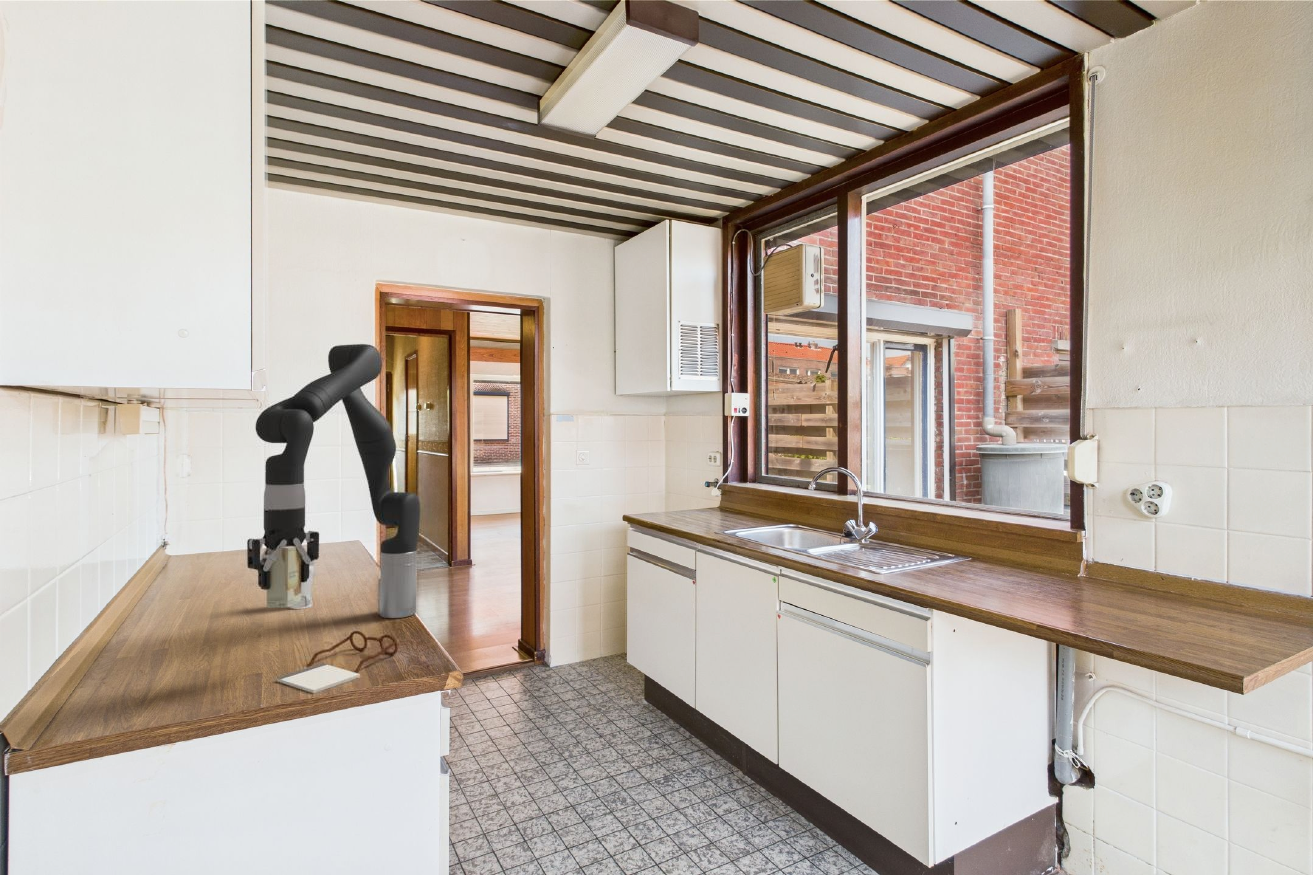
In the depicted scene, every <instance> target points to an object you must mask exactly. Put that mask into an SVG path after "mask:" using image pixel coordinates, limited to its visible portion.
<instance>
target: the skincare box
mask: <svg viewBox="0 0 1313 875" xmlns="http://www.w3.org/2000/svg"><path fill="white" fill-rule="evenodd" d="M274 549H275V548H274ZM273 551H274V550H271V549H270V548H267V555H271V554H272V553H273ZM268 571H270V589H268V590H266V608H289V606H291V605H293V604H295V603H297V602H299V601H301V557H300V556H299V553H298V551H297V549H296V546H285V547H281V548H278V558H277V559H276V561H274V562H273V563H272V565H271V567H270V568H269V570H268Z"/></svg>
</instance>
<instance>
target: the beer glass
mask: <svg viewBox="0 0 1313 875" xmlns="http://www.w3.org/2000/svg"><path fill="white" fill-rule="evenodd" d="M315 561H316V560H313V561H311V562H310V564H309V579H307V582H301V601H299V602H297V603H295V604H293V605H291V606H289V607H288V609H291V610H303V609H308V608H311V607H313V606H314V603H313V598H312V589H313V584H314V579H315V572H316V564H315V563H316V562H315Z"/></svg>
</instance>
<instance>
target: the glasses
mask: <svg viewBox="0 0 1313 875" xmlns="http://www.w3.org/2000/svg"><path fill="white" fill-rule="evenodd" d="M355 634H356V635H360V636H361V637H362V639H363V642H364V644H363V646H362V647H359V646H357V645H356V644H355V642H354V635H355ZM385 638H387V639H390V640H391V641H392V642H391V643H389V644H388V645H387V646H384V642H383V640H384V639H385ZM348 641H349V643H350V645H351V647H352V648H353V649H354V650H357V651H365V650H366V649H367V648H368V641H375V642H376V641H377V642H378V643H379V647H380V649H381V650H379V651H378V652H377V653H375V654H373V655H371V656H367V657H365V658H363V659H362V660H360V662H359V663H358V665H357V666H356V669H355V670H354V671H353V672H354V673H358V674H359V672H360V670H361V668H362V666H363V664H364V663H365V662H368V661H370V660H374V659H377V658H378V657H380V656H381V655H382V654H385V655H389V656H390V655H393V656H394V655H395V654H396V653H397V652H398V650H399V645H398V641H397V640H396V638H395V637H394V636H393V635H390V634H383V635H382V636H381V637H379V638H378V637H375V636H368V637H367V635H366V634H365V633H363V632H362V631H361V630H353V631H352V632H350V635H349V636H347V637H346V638H344V639H342V640H340V641H339V642H337V643H336V644H335V645H333V646H331V647H329V648H327V649H322V650H319V651H317V652H315V653H314V654H313V656H312V657H311V659H310V661H309V663H308V664H307V666H306V667H307V668H310V667H313V664H314V662H315V661H316V659H317V657H318V656H319V655H322V654H324V653H329V652H332V651H333V650H335V649H336V648H338V647H340V646H342V645H343V644H344V643H347V642H348ZM393 646H394V650H393V651H389V650H390V649H391V648H392V647H393Z"/></svg>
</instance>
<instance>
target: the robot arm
mask: <svg viewBox="0 0 1313 875" xmlns="http://www.w3.org/2000/svg"><path fill="white" fill-rule="evenodd" d="M327 360H328V361H327V362H328V368H329V372H330V373H329V374H326V375H324V376H321V377H319V378H317V379H314V380H313V381H311V382H309V383H307V384H306V385H305V386H303V387H302V388H301V389H300V390H299V391H297V392H296V393H295V394H294V395H293V396H290V397H288V398H286V399H284V400H281V401H279V402H276V403H275V404H272V405H270V406H268V407H267V408H266V409H264V410H263V411H262V412H261V413H260V414H259V416H258V417H257V419H256V422H255V426H254V427H255V432H256V435H257V437H259V439H261V440H262V441H263V442H265V443H270V444H286V445H285V448H284V450H283V452H282V453H279V454H276V455H270V456H269V457H267V459H266V460H265V466H264V468H265V474H264V477H265V480H264V481H265V482H264V483H265V484H264V487H265V488H264V491H263V492H264V493H263V531H264V533H263V536H262V537H259V538H248V539H247V542H246V545H247V546H246V547H247V548H246V550H247V551H246V552H247V554H246V557H247V558H246V560H247V562H246V563H247V568H248V569H251V570H255V571H257V584H258V587H260V589H261V590H264V591H265V590H266V591H267V590H268V589H270V571H268V570H269V568H270V567H271V565H272V563H273V562H274V561H276V559H277V558H278V548H281V547H285V546H296V549H297V551H298V553H299V556H300V557H301V582H307V579H309V564H310V562H311V561H313V560H315V561H316V560H318V559H319V557H320V533H319V532H318V531H312V530H309V531H307V532H306V531H305V527H306V490H305V463H306V459H307V455H308V451H309V449H310V445H311V442H312V439H313V436H314V428H315V427H314V425H315V424H314V423H316V422H317V421H318V420H320V419H321V418H322V417H324V415H326V413H327V412H329V411H330V410H331V409H332V408H333V407H334V406H335V405H336V404H338V403H339V402H340V401H341V402H342V404H343V406H344V408H345V413H346V415H347V418H348V420H349V424H350V427H351V430H352V434H353V438H354V442H355V445H356V448H357V452H358V454H359V456H360V459H361V463H362V466H363V470H364V474H365V478H366V481H367V485H368V491H369V497H370V500H371V502H370V503H371V506H372V511H373V514H374V517H375V519H376V521H377V522H378V523H379V524H380V525H381V526H387V527H388V526H389V527H397V530H396V534H395V535H394V536H392V537H390V538H386V539H384V540H382V541H381V543H380V578H379V579H378V585H377V586H378V587H377V588H378V590H377V591H378V592H377V593H378V595H377V596H378V597H377V613H378V615H380V617H382V618H386V619H399V618H400V619H401V618H406V617H411V616H413V615H415V614H416V613H417V595H418V594H417V584H418V583H417V580H418V578H417V577H418V576H417V571H418V570H417V569H418V568H417V567H418V566H417V565H418V563H417V562H418V560H417V558H418V557H417V554H418V553H417V549H418V542H419V539H420V522H421V521H420V520H421V503H420V502H421V501H420V499H419V497H418V496H417V494H416V493H413V492H401V491H400V492H399V491H396V492H395V491H392V488H391V485H390V481H389V472H390V469H391V466H392V464H393V462H394V458H395V456H396V452H397V444H396V440H395V436H394V434H393V430H392V429H393V428H392V427H391V424H390V422H389V421H388V419H387V418H386V417H385V416H384V414H382V413H381V412H380V410H378V409H377V408H376V407H375V406H374V405H373V404H372V403H371V401H369V400H368V398H367V397H366V396H365V394H364V392H363V390H362V387H363V386H366V385H367V384H369V383H370V382H371V383H372V382H373V381H374V380H375V379H377V378H378V377H379V375H380V374H381V372H382V369H383V360H382V356H381V353H380V351H379V350H378V348H376V346H374V345H372V344H366V343H360V344H359V343H356V344H354V343H353V344H339V345H335V346H333V347H331V348H330V350H329V351H328V356H327ZM304 541H305V542H306V549H305V547H304V546H303V543H304ZM263 546H264V547H265V549H264V551H263V553H262V554H261V549H263ZM267 548H270V549H271V550H274V551H273V553H272V554H271V555H267ZM274 548H275V549H274ZM411 610H412V611H413V612H412V611H411ZM413 613H414V614H413Z"/></svg>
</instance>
